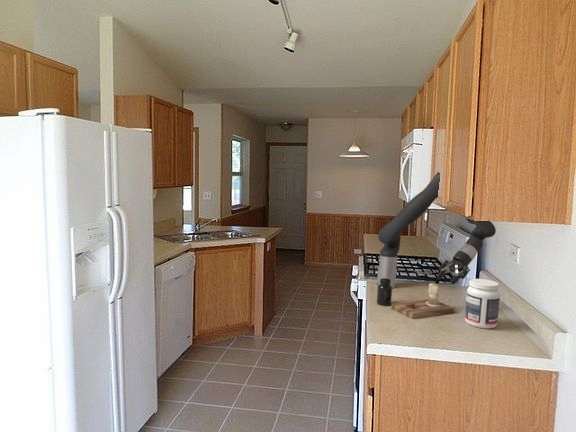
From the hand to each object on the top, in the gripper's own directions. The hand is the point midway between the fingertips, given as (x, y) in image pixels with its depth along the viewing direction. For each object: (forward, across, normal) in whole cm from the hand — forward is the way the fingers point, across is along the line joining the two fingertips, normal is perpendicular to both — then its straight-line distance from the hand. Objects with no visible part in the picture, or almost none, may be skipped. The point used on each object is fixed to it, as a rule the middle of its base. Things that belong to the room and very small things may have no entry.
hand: (444, 280), depth 201 cm
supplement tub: (+10, +22, +9) cm, 26 cm away
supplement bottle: (+26, -14, -7) cm, 30 cm away
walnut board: (+18, 0, 0) cm, 18 cm away
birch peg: (+12, 0, +3) cm, 12 cm away
